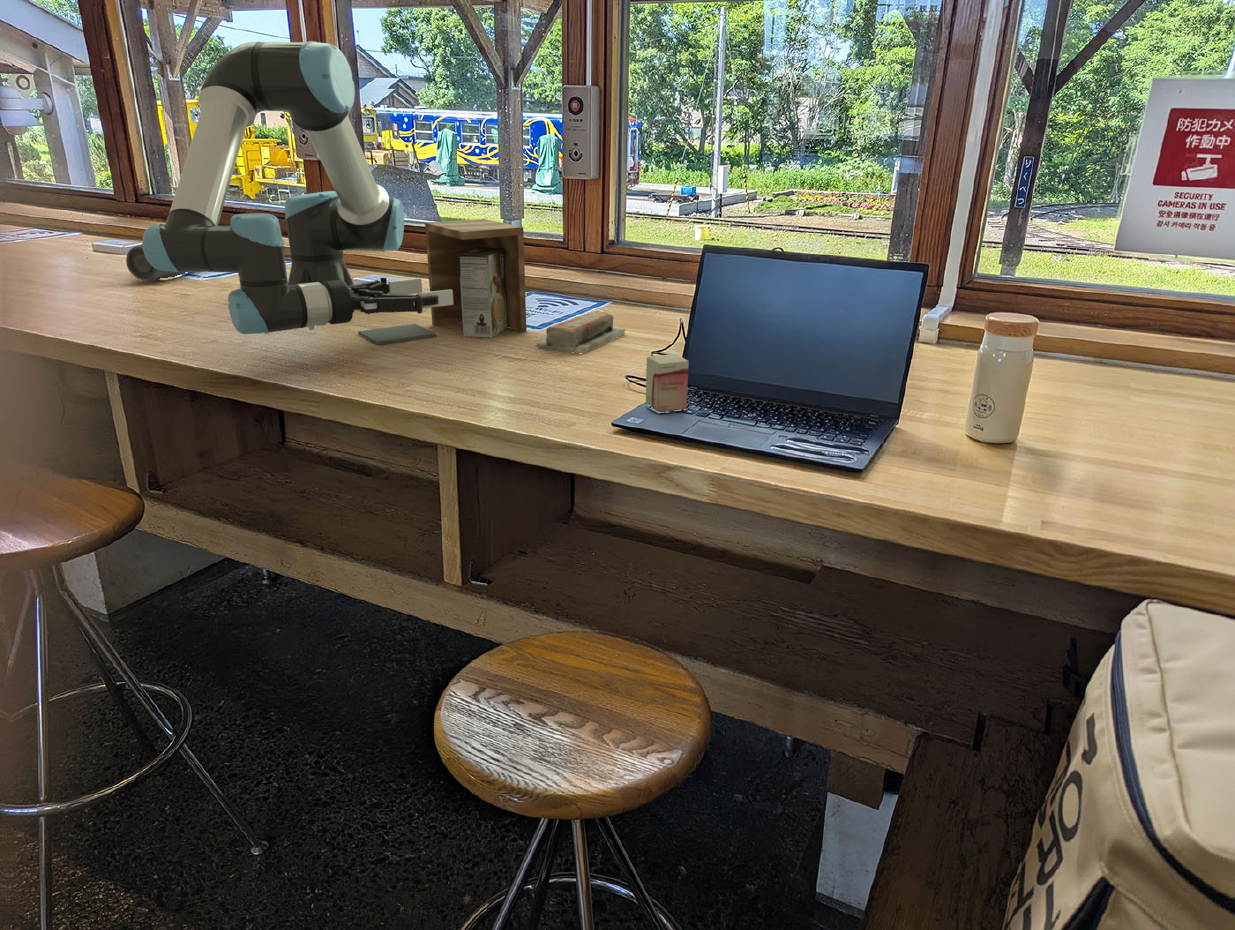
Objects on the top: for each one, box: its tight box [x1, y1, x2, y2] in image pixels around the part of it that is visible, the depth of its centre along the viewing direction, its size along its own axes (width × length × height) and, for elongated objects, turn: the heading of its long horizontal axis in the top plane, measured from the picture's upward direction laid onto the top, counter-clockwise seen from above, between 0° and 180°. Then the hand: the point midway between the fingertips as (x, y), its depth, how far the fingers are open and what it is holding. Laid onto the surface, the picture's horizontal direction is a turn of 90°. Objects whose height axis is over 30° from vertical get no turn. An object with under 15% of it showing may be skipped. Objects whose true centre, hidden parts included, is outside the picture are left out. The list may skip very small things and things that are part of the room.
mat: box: [357, 323, 438, 346], centre depth 170 cm, size 10×12×1 cm
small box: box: [645, 353, 690, 412], centre depth 128 cm, size 5×4×8 cm
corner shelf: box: [424, 218, 527, 334], centre depth 172 cm, size 16×13×20 cm
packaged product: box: [536, 311, 626, 354], centre depth 167 cm, size 18×5×10 cm
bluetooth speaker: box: [125, 244, 185, 281], centre depth 223 cm, size 23×9×10 cm, turn 172°
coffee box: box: [458, 247, 508, 339], centre depth 170 cm, size 9×6×16 cm
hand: (436, 291), depth 164 cm, fingers open, 13 cm apart
